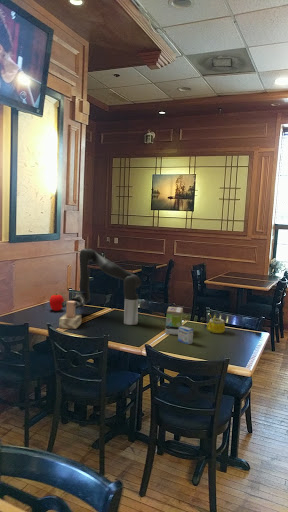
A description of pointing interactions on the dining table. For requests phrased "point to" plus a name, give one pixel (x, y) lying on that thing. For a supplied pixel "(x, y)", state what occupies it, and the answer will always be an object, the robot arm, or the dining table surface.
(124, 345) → the dining table surface
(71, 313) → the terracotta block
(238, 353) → the dining table surface
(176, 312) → the tea box
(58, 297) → the red apple
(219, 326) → the yellow teapot
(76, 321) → the birch block
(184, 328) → the medicine box
